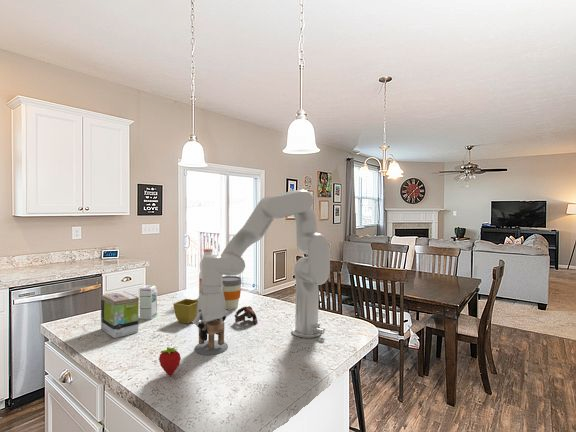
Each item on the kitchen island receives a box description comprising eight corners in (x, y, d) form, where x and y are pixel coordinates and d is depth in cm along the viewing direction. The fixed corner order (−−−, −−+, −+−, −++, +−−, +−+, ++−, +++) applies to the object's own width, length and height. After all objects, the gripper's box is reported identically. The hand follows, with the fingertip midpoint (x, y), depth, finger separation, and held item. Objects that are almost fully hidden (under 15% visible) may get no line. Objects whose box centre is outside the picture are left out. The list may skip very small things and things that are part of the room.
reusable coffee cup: (239, 311, 168) (239, 281, 167) (214, 310, 168) (214, 280, 167) (242, 303, 180) (243, 276, 180) (219, 303, 180) (220, 275, 180)
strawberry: (167, 383, 98) (167, 350, 98) (154, 375, 103) (154, 343, 103) (185, 376, 103) (185, 344, 103) (172, 368, 108) (172, 337, 108)
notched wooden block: (211, 338, 128) (211, 318, 128) (224, 344, 124) (224, 322, 123) (198, 343, 124) (198, 321, 124) (210, 349, 119) (211, 326, 119)
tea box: (139, 332, 138) (139, 296, 137) (113, 339, 130) (113, 301, 130) (124, 323, 148) (125, 290, 148) (100, 329, 141) (100, 294, 140)
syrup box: (151, 319, 153) (151, 288, 153) (139, 319, 153) (139, 287, 153) (157, 315, 159) (157, 285, 158) (144, 315, 159) (144, 284, 158)
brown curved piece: (258, 328, 146) (248, 313, 144) (239, 335, 148) (230, 321, 146) (261, 312, 158) (252, 298, 156) (243, 320, 159) (235, 306, 157)
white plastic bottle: (212, 295, 195) (212, 247, 195) (218, 299, 188) (219, 249, 187) (196, 297, 190) (196, 248, 189) (202, 301, 182) (203, 250, 182)
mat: (234, 347, 124) (234, 346, 124) (207, 358, 115) (207, 357, 115) (214, 338, 132) (214, 337, 132) (187, 348, 123) (187, 347, 123)
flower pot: (172, 323, 149) (172, 303, 149) (185, 317, 157) (185, 298, 157) (188, 326, 146) (188, 305, 145) (201, 320, 154) (201, 300, 153)
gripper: (223, 283, 132) (223, 328, 133) (185, 291, 119) (185, 341, 119) (236, 286, 127) (235, 333, 128) (198, 295, 114) (197, 347, 115)
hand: (211, 336), depth 124 cm, fingers closed on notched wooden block, 6 cm apart
